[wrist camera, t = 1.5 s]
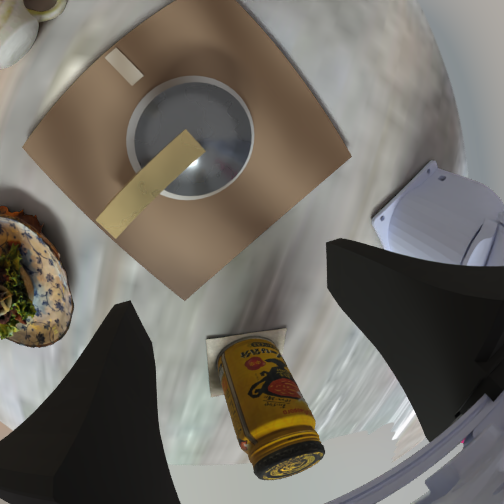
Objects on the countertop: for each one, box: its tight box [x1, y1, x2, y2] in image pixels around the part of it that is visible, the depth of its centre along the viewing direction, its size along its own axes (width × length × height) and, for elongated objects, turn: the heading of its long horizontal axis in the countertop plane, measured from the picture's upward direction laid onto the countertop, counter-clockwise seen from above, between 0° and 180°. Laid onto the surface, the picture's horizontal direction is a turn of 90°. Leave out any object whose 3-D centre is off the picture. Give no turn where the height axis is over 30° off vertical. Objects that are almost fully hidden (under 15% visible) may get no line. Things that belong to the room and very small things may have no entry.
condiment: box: [206, 328, 325, 480], centre depth 21 cm, size 7×8×12 cm
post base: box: [22, 0, 352, 301], centre depth 16 cm, size 16×16×1 cm
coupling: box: [96, 82, 252, 239], centre depth 13 cm, size 9×6×4 cm, turn 128°
